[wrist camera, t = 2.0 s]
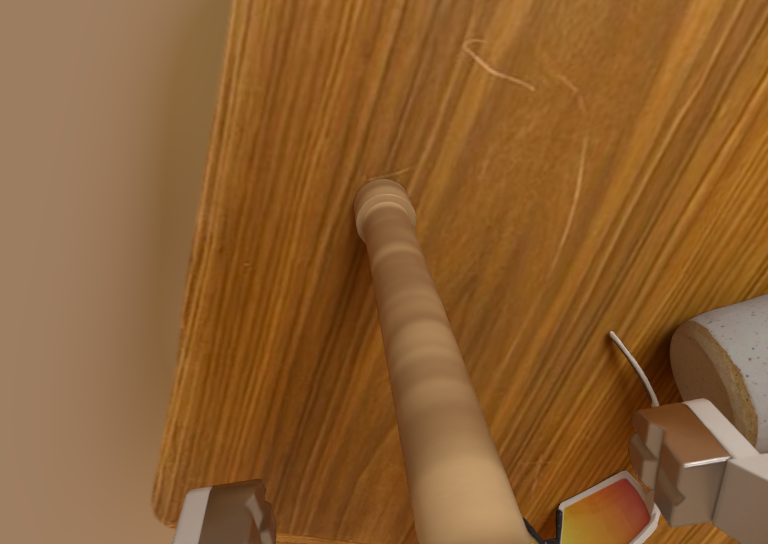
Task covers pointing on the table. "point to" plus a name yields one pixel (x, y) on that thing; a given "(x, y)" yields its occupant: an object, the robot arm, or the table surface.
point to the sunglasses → (608, 502)
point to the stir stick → (432, 388)
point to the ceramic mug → (727, 364)
